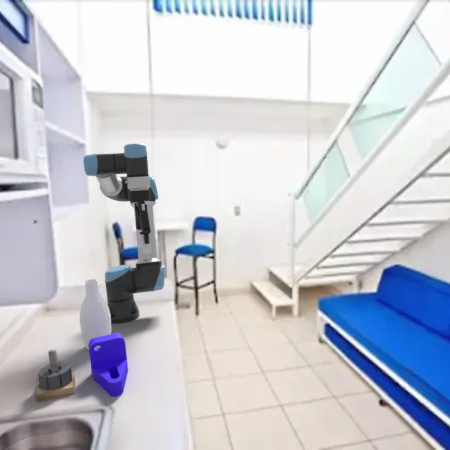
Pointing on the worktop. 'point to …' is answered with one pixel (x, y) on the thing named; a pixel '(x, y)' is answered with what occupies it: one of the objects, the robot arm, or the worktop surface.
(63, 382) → the dark grey gear
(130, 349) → the worktop surface
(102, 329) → the bottle
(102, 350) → the bracket
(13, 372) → the worktop surface
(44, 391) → the peg base board
